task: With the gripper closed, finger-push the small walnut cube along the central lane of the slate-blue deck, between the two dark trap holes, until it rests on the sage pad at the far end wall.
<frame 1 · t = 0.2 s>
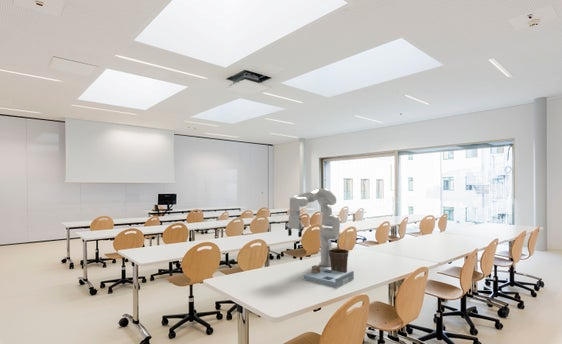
hand: (294, 236, 233), 30 cm above the table, fingers open, 9 cm apart
plant pot: (338, 271, 245), on the table
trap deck: (328, 279, 225), on the table
walnut cube: (316, 272, 232), point 3 cm above the table, touching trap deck
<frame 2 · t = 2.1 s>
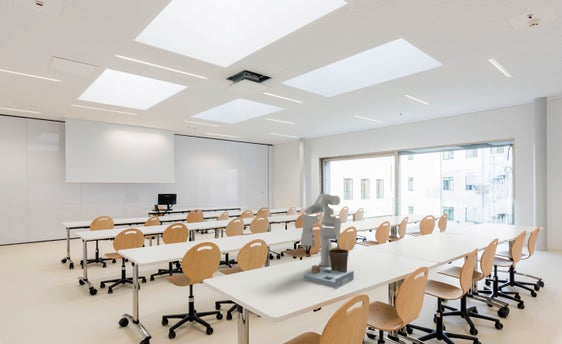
hand: (307, 254, 237), 15 cm above the table, fingers closed
nothing on the table moved.
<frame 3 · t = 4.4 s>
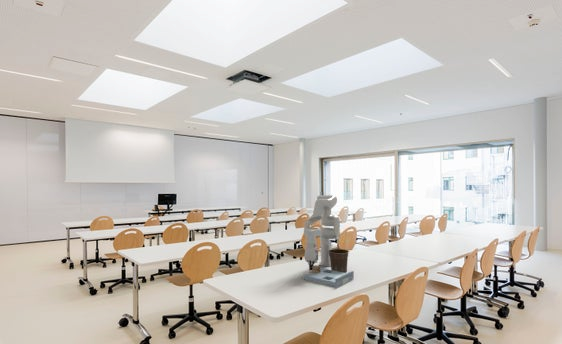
hand: (311, 269, 235), 4 cm above the table, fingers closed
walnut cube: (316, 272, 232), point 3 cm above the table, touching gripper, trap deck
everything else where it was.
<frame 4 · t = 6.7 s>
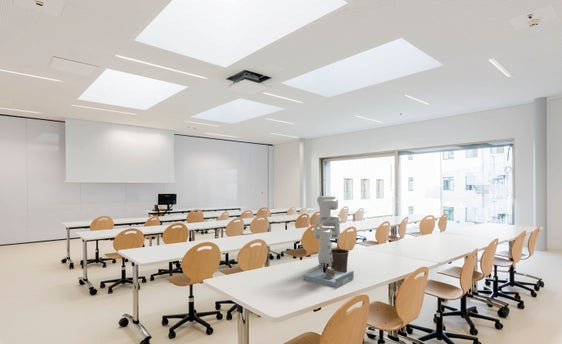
hand: (325, 272, 227), 4 cm above the table, fingers closed
walnut cube: (330, 275, 224), point 3 cm above the table, touching gripper
everything else where it was.
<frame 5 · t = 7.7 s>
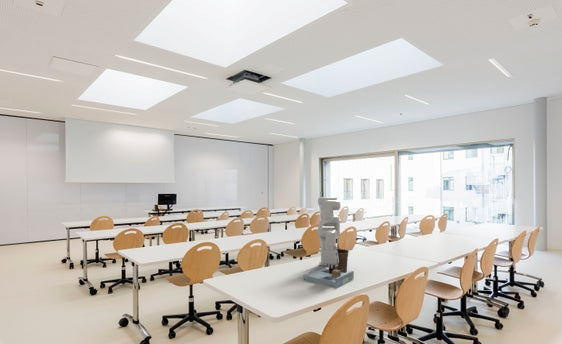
hand: (331, 273, 224), 4 cm above the table, fingers closed
walnut cube: (336, 276, 220), point 3 cm above the table, touching gripper, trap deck
everything else where it was.
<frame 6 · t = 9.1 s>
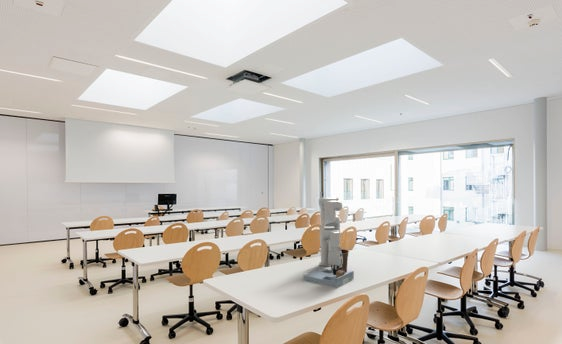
hand: (335, 274, 221), 4 cm above the table, fingers closed
walnut cube: (340, 277, 218), point 3 cm above the table, touching gripper, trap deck
everything else where it was.
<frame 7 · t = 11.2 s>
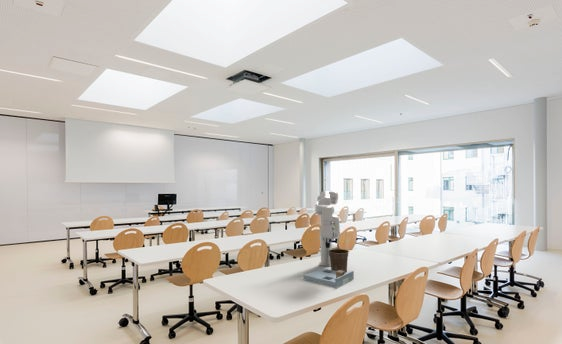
hand: (327, 247, 228), 22 cm above the table, fingers closed
walnut cube: (340, 277, 218), point 3 cm above the table, touching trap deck
everything else where it was.
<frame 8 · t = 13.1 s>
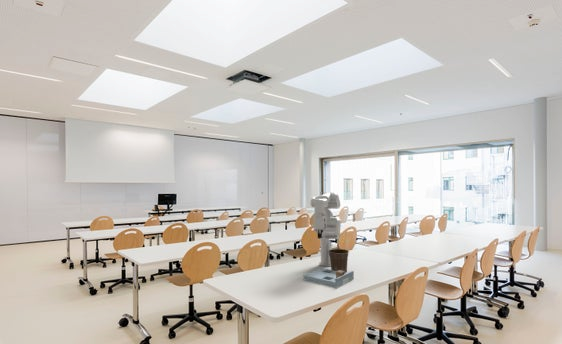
hand: (319, 238, 242), 27 cm above the table, fingers closed
nothing on the table moved.
at the end: walnut cube inside the target area on the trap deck (1.2 cm from its centre), point 3.0 cm above the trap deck's base; walnut cube tilted 0° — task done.
